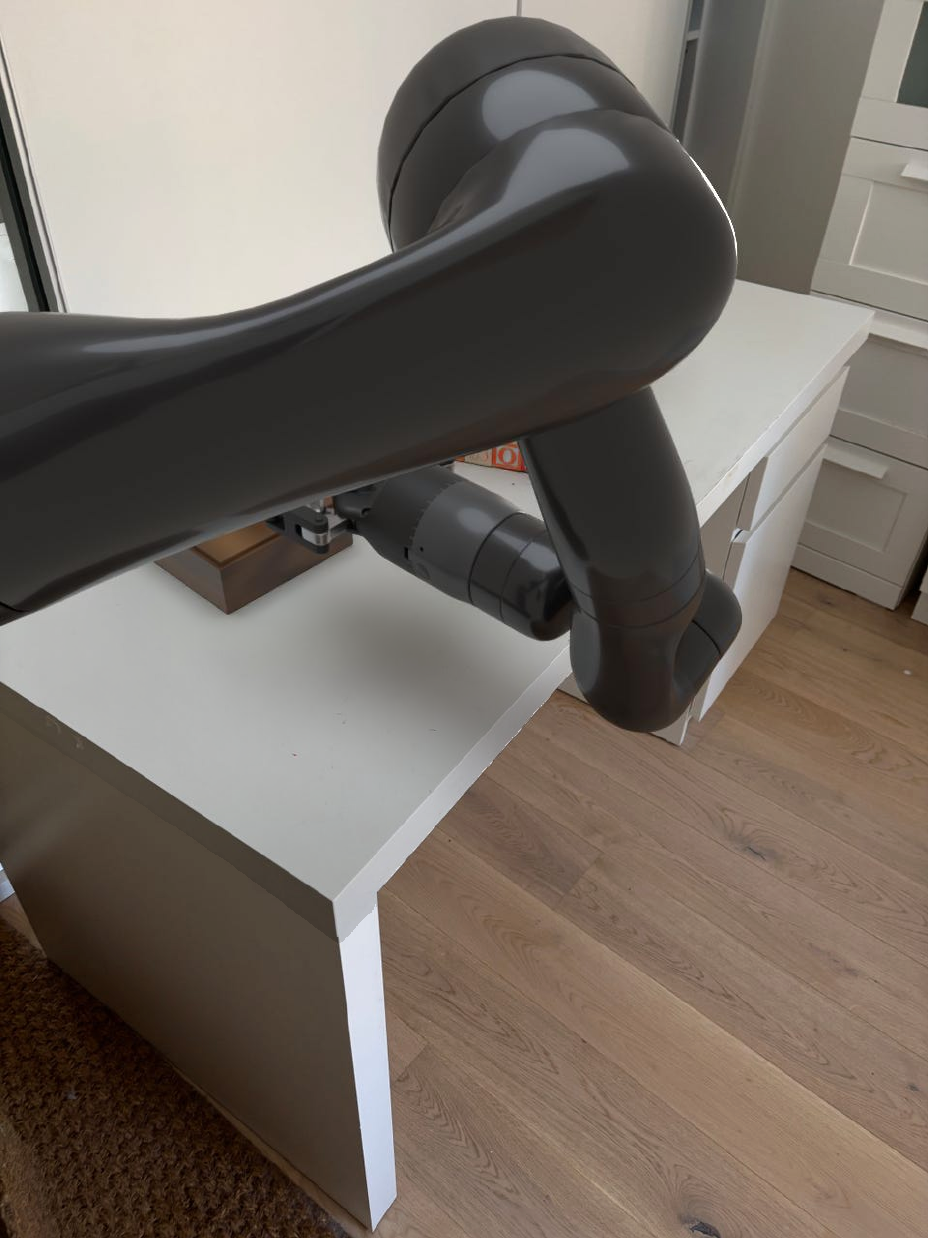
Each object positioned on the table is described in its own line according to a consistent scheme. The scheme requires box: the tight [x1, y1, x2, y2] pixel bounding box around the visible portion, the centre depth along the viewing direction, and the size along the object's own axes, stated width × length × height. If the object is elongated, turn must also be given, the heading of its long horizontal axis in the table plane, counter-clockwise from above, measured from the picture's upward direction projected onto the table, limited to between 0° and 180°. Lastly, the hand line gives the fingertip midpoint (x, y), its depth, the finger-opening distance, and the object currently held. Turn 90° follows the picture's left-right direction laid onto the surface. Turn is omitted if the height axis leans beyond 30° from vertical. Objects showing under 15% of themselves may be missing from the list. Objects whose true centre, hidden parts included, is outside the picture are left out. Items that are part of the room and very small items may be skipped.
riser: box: [153, 496, 354, 615], centre depth 85 cm, size 14×14×5 cm
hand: (296, 449), depth 74 cm, fingers open, 8 cm apart
